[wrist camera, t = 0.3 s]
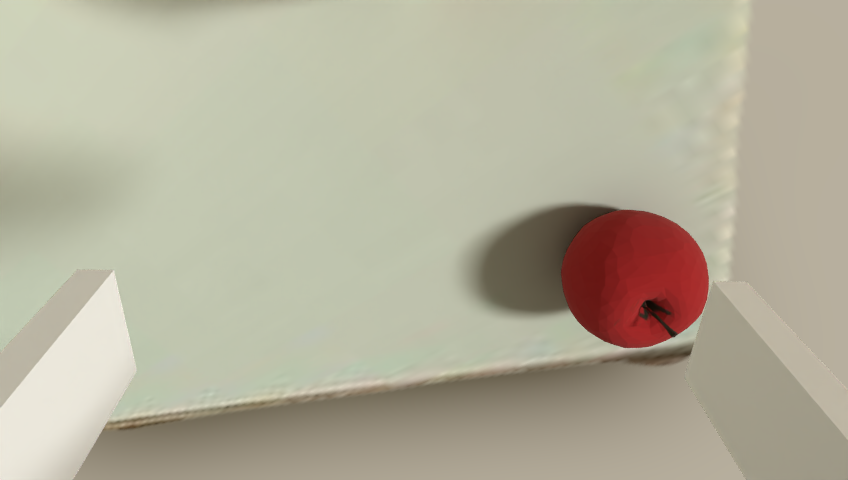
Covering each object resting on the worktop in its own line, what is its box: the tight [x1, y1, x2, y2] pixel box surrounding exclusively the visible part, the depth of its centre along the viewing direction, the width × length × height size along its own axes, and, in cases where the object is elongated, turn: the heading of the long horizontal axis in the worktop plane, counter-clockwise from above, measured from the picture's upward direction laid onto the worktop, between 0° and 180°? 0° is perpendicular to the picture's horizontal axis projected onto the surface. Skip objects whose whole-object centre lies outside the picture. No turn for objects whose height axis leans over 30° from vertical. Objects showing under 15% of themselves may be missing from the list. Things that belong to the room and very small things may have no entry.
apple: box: [561, 210, 709, 348], centre depth 40 cm, size 9×9×10 cm
